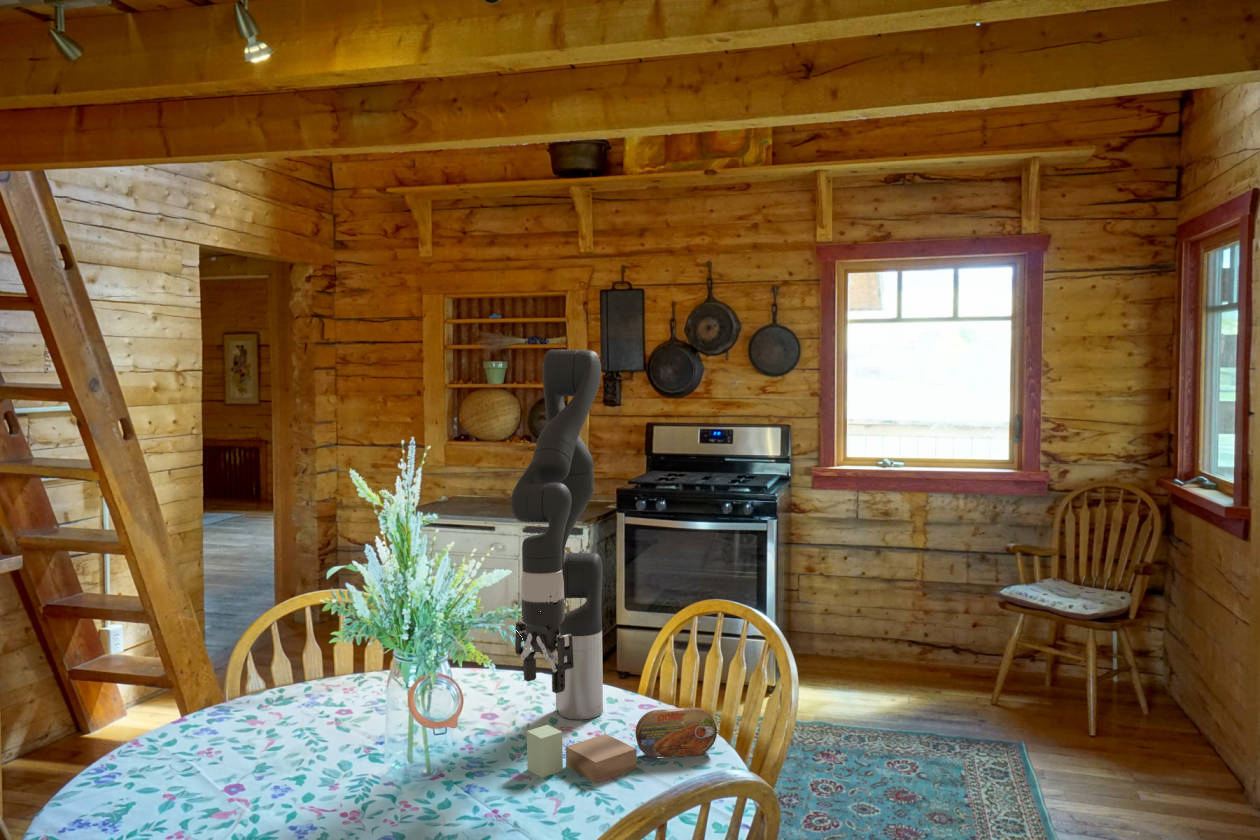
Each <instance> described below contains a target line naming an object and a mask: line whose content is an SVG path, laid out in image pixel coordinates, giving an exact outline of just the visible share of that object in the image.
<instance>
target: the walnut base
mask: <svg viewBox="0 0 1260 840" xmlns="http://www.w3.org/2000/svg"><path fill="white" fill-rule="evenodd" d="M637 755H638V754H637V748H636V747H633V746H632V745H630V744H628V743H625V742H624V741H621V740H619V739H617V738H615V737H613V736H611V735H609V734H607V733H604V734H601V735H598V736H595V737H592V738H591V737H590V738H588V739H585V740H583V741H578V742H576V743H572V744H569V745H566V746H565V767H567V768H568V769H570V770H571V771H574V772H575V773H577V774H578V775H581V776H582V777H584V778H586V779H587V780H589V781H591V782H593V783H595V784H598V783H602V782H604V781H607V780H610V779H612V778H616V777H618V776H621V775H624V774H627V773H630V772H632V771H635V769H636V770H637V769H638V765H637V761H638V760H637V758H638V757H637Z"/></svg>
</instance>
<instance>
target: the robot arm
mask: <svg viewBox="0 0 1260 840" xmlns="http://www.w3.org/2000/svg"><path fill="white" fill-rule="evenodd" d="M601 378H602V363H601V360H600V356H599V355H598V353H597V352H595V351H594V350H590V349H589V350H588V349H550V350H547V351H546V353H545V354H544V357H543V362H542V384H543V387H542V389H543V395H544V404H545V416H546V418H545V419H546V425H545V426H544V427H543V429H542V430H541V431H540V434H539V435H538V438H537V440H536V445H535V448H534V452H533V456H532V458H531V462H530V463H529V464H528V466H527V468H526V469H525V471H524V472H523V474H522V475H521V477H520V479H519V480H518V481H517V482H516V485H515V486H514V488H513V490H512V493H511V496H510V511H511V514H512V516H513V517H514V518H515V519H516V520H517V521H519V522H522V523H548V527H547V530H546V532H543V533H541V534H540V533H539V534H534V535H529V536H527V537H526V538H524V539H523V541H522V546H521V563H522V564H521V565H522V571H521V573H522V574H521V580H520V581H521V582H520V591H521V593H520V596H521V599H520V600H521V621H517V622H515V640H514V641H515V643H514V644H515V645H514V646H515V650H514V652H515V654H516V655H518V656H519V655H520V659H521V660H522V661H523V663H522V664H523V666H522V667H523V669H522V670H523V680H524V681H525V682H531V681H536V679H537V659H536V657H537V655H538V653H540V654H541V655H543V656H544V659H545V660H546V662H548V663H549V665H550V667H551V670H552V671H551V691H552V693H553V694H555V709H556V710H557V711H558V714H559V715H560V716H561V717H563V718H565V719H570V720H588V719H593V718H596V717H598V716H600V715H602V714H603V712H604V699H603V698H604V695H603V694H604V691H603V690H604V683H603V682H604V681H603V680H604V678H603V677H604V676H603V623H602V621H603V620H602V616H603V615H602V594H603V593H602V591H603V577H604V576H603V574H604V572H603V569H604V568H603V562H602V558H601V556H600V554H599V553H596V552H566V545H567V542H568V539H569V537H570V535H571V533H572V531H573V529H574V526H575V525H576V523H577V522H578V520H579V518H580V517H581V516H582V514H583V513H584V511H585V510H586V508H587V506H588V504H589V503H590V501H591V499H592V497H593V494H594V491H595V477H594V476H595V475H594V473H595V472H594V471H595V470H594V460H593V457H592V454H591V452H590V450H589V448H588V446H586V444H585V442H584V440H583V439H582V437H581V436H580V434H581V433H580V432H581V431H582V428H583V426H584V424H585V422H586V420H587V417H588V416H589V412H590V411H591V408H592V406H593V404H594V401H595V398H596V396H597V394H598V391H599V389H600V384H601V380H602V379H601ZM564 397H572V398H571V400H570V401H569V402H568V403H567V404H566V403H565V398H564ZM565 599H586V601H585V602H584V603H583V604H581V605H580V606H579V607H577V608H575V609H572V610H569V611H567V612H565ZM540 611H541V612H540ZM522 616H523V617H522ZM516 630H517V631H518V632H519V633H520V635H521V636H522V637H521V636H520V635H519V633H518V632H517V631H516ZM522 638H523V640H522ZM522 642H524V643H523V644H524V645H523V646H522ZM525 648H527V649H525ZM555 651H556V652H555ZM556 660H557V661H556Z"/></svg>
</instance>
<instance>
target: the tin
mask: <svg viewBox="0 0 1260 840" xmlns="http://www.w3.org/2000/svg"><path fill="white" fill-rule="evenodd" d="M717 728H718V727H717V723H716V721H715V719H714V718H713V717H712V715H710V714H709V713H708V712H707V711H706V710H704V709H703V708H700V707H695V706H692V707H681V708H680V707H678V708H667V709H666V708H665V709H655V710H651V711H648V712H646V713H645V714H643V715H642V716H641V717H640V718H639V720H638V722H637V724H636V726H635V739H636V743H637V746H638V748H639V750H640V751H641V752H642V753H643V754H644V755H646V756H647V757H648V758H652V759H656V758H657V757H670V758H673V757H672V756H681V757H691V755H694V756H700V755H704V754H705V753H706V752H708V751H709V750H710V749H712V747H713V746H714V744H715V742H716V739H717V734H718V733H717V732H718V729H717Z"/></svg>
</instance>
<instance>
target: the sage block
mask: <svg viewBox="0 0 1260 840" xmlns="http://www.w3.org/2000/svg"><path fill="white" fill-rule="evenodd" d="M563 753H564V752H563V731H562V730H559V729H557V728H555V727H553V726H551V725H549V724H545V725H542V726H540V727H535V728H533V729H529V730H527V731H526V756H527V757H526V761H527V762H526V763H527V764H526V766H527V767H526V768H527V771H529V772H531V773H533V774H535V775H536V776H538V777H540V778H543V779H544V778H546V777H548V776H551V775H554V774H557V773H559V772H563V771H564V769H563V768H564V765H563V763H564V762H563V759H564V756H563Z"/></svg>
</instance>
